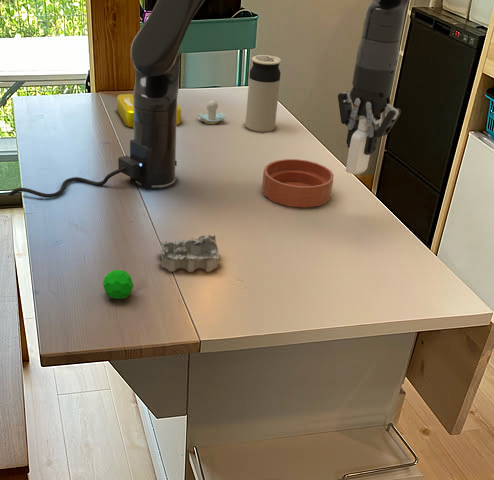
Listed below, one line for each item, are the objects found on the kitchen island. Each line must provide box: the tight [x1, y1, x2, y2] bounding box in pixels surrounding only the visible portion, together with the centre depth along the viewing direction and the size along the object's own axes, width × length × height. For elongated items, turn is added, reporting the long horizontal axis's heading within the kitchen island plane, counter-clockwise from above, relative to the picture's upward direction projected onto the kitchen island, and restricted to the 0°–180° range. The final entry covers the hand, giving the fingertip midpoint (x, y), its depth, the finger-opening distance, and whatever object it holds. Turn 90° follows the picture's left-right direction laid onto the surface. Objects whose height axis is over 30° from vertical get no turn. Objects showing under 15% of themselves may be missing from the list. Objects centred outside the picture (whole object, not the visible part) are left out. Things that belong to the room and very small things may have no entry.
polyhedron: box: [102, 269, 134, 300], centre depth 119 cm, size 5×5×5 cm
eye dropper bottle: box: [345, 116, 371, 175], centre depth 142 cm, size 4×6×12 cm
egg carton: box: [160, 234, 220, 273], centre depth 130 cm, size 11×8×4 cm
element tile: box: [116, 93, 182, 129], centre depth 192 cm, size 15×15×5 cm
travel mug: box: [244, 54, 282, 133], centre depth 187 cm, size 8×8×18 cm
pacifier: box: [198, 99, 226, 125], centre depth 192 cm, size 7×6×6 cm
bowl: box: [261, 158, 335, 208], centre depth 157 cm, size 15×15×5 cm
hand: (360, 150), depth 142 cm, fingers closed on eye dropper bottle, 3 cm apart
